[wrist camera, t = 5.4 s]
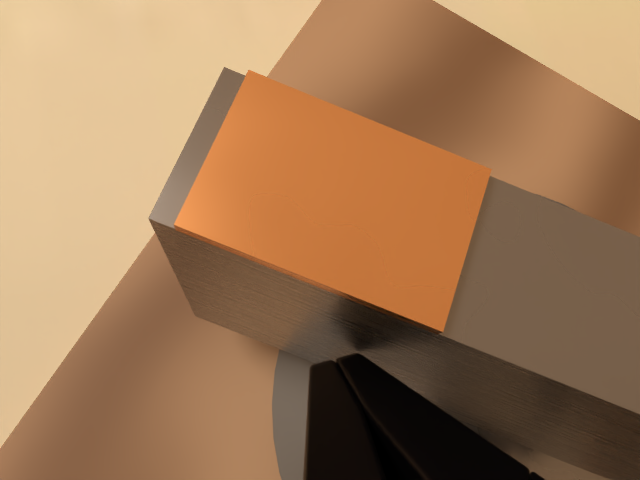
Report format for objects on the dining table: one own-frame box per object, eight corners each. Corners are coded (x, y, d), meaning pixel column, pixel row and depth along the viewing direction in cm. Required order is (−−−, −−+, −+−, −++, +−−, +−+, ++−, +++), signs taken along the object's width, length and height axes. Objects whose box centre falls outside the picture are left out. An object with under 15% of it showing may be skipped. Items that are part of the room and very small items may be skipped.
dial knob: (717, 294, 16) (1193, 186, 8) (659, 697, 13) (1337, 1169, 5) (288, 120, 16) (342, -175, 8) (123, 492, 13) (-73, 645, 5)
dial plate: (860, 287, 19) (915, 277, 17) (683, 1031, 13) (744, 1117, 11) (345, -13, 19) (355, -49, 18) (-64, 568, 13) (-104, 590, 12)
